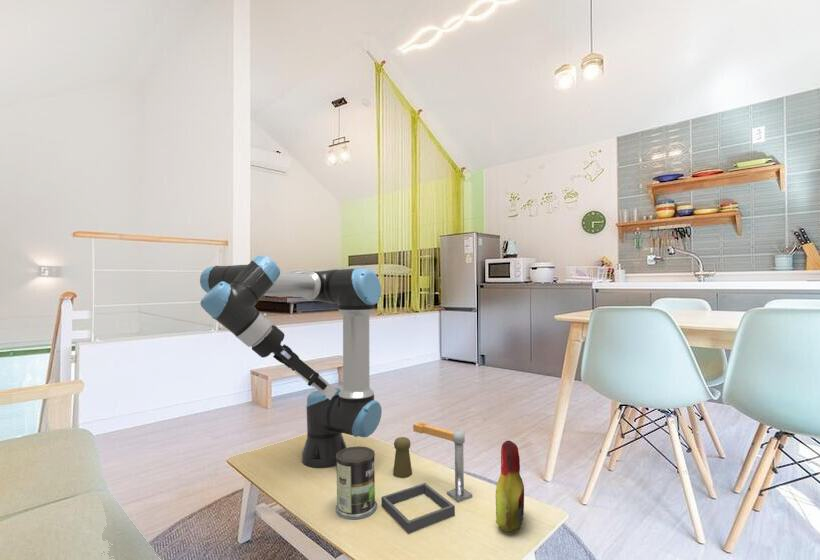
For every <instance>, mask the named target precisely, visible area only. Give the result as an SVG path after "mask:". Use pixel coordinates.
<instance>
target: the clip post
mask: <svg viewBox="0 0 820 560" xmlns="http://www.w3.org/2000/svg"><path fill="white" fill-rule="evenodd" d="M464 465H465V464H464V443H462V444H456V443H454V481H455V483H454V484H455V485H454V486H455V487H454V488H453V489H451V490H447V491H446V495H448V496H449V497H450V498H452V500H454V501H456V502H457V503H460V502H463V501H465V500H468V499H471V498H473V494H472V493H471V492H470V491H468V490H467V489H465V486H464V485H465V484H464V483H465V477H464V475H465V474H464V473H465V471H464V470H465V467H464Z"/></svg>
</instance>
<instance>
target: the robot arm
mask: <svg viewBox="0 0 820 560" xmlns="http://www.w3.org/2000/svg"><path fill="white" fill-rule="evenodd" d="M199 283H200V284H199V285H200V287H201V288H202V289H201V290H203V291H204V292H205V293H206V294H205V295H204V296H203V298H201V300H200V302H199V304H200V307H201V308H202V309H203V310H204V311H205V312H206V313H207V314H208V315H209V316H210V317H211V318H212V319H214V320H216V322H218V323H219V324H221V326H223V327H224V328H225V329H227V330H228V331H229V332H230V333H232V334H233V335H234V336H235V337H236V338H237V339H238V340H239V341H240V342H242V343H243V344H245V346H246V347H248V348H249V347H250V348H251V351H253V352H255V353H256V354H257V355H258V356H259V357H261V358H267V357H268V356H270V355H271V354H273V356H272V357H273V358H274V359H275V360H277V361H278V362H279V363H282V364H283V365H284V366H286V367H287V368H289V369H290V370H291V371H293V372H294V373H295V374H296V375H298V376H299V377H300V378H301V379H302V380H303V381H304V382H306V383H307V385H308V386H309V387H312V388H316V390H315V391H313V392H311V393H309V394H308V395H307V398H306V424H307V425H306V430H307V431H306V432H307V433H306V434H307V435H306V436H307V437H306V440H305V442H304V446H303V450H302V453H301V455H302V458H301V461H302V463H303V464H304V465H305V464H306V465H305V466H307V465H308V466H307V467H310V466H311V467H310V468H319V467H322V468H328V467H333V466H334V467H335V466H337V460H336V454H337V453H338V452H339V451H340V450H343V449H345V448H347V445H346V442H345V440H344V436H343V434H346V435H349V436H353V437H355V438H357V437H360V438H368V437H370V436H372V435H373V434H374V432H375V431H376V430H377V429H378V426H379V424H380V422H381V419H382V412H383V411H382V405H381V403H380V402H379V401H378V400H375V392H374V390H373V389H371V387H370V315H371V313H372V312H373V311H374V310H375V306H374V305H377V303H378V302H379V301H380V298H381V296H382V286H381V281H380V279H379V277H378V276H377V274H376V273H375V272H374V271H373V270H371V269H369V268H358V267H357V268H342V269H328V270H319V271H317V270H316V271H312V270H308V271H305V272H292V271H281V270H280V267H279V266H278V264H277V262H276V261H274V259H272V258H270V257H269V256H266V255H262V254H261V255H257V256H255V258H253V259H251V261H250V262H249V263H248V264H236V265H235V264H234V265H214V266H209V267H207V268H205V269H204V270H203V271H202V272H201V274H200V277H199ZM264 296H265V297H291V298H292V297H294V298H295V297H296V298H297V297H298V298H303V299H304V300H307V301H315V302H321V303H328V304H333V305H334V304H336V305H338V306H337V307H338V308H337V309H338V310H337V311H338V312H339V313H341V315H342V381H343V382H342V389H341V388H337V387H334V386H333V385H331V384H330V383H329V382H328V381H327V380H326V379H324V378H323V377H322V376H321V375H320V374H319V373H318V372H316V371H315V370H314V369H313V368H311V367H310V366H309V365H308V364H307V363H306V362H304V360H302V359H301V358H300V357H299V355H298V354H297V353H296V352H294V351H293V349H292V348H290V347H289V346H288V345H287V344H283V345H281V344H282V342H283V341H284V340H285V333H284V332H283V331H282V330H281V329H280V328H279V327H277V326H276V325H274V324H272V322H271V321H270V320H269V319H268V318H266V317H267V316H268V315H267V314H266V313H262V312H260V311H259V310H258V309H257V308H256V307H255V306H256V304H258V302H260V300H261V299H262V298H263V297H264ZM319 469H320V468H319Z"/></svg>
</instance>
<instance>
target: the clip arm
mask: <svg viewBox="0 0 820 560" xmlns="http://www.w3.org/2000/svg"><path fill="white" fill-rule="evenodd" d="M412 426H413V427H412V428H413V432H415V433H418V434H425V435H429V436H433V437H435V438H440V439H444V440H446V441H450V442H453V444H455V443H456V444H462V443H463V444H465V441H466V440H465V439H466V437H465V436H466V435H465V431H463V430H461V429H459V430H458V429H457V430H456V429H455V430H454V431H452V430H449V429H445V428H443V427H442V428H441V427H437V426H434V425H431V424H429V423H426V422H422V421H418V422H416V423H413V425H412Z"/></svg>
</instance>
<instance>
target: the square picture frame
mask: <svg viewBox="0 0 820 560" xmlns="http://www.w3.org/2000/svg"><path fill="white" fill-rule="evenodd" d="M422 495H425V496H427V497H428V498H429V499H430V500H431V501H433V502H434V503H435V504H436V505H437V506H439V507H440V509H436V510H434V511H431V512H429V513H428V512H427V513H426V514H423V515H421V516H417V517H415V518H412V519H410V520H409V519H408V517H406V516H405V515H404V514H403V513H402V511H400V510H399V509H398V508H397V506H395V505H394V504H398V503H401V502H404V501H406V500H411V499H413V498H416V497H419V496H422ZM381 507H382V508H383V509H384V511H386V512H387V514H389V515H390V517H391V518H393V520H394V521H395V522H396V523H397V524H398V525H399V526H400V527H401V528H402V529H403V530H404V531H405V532H406V534H408V535H409V534H410V533H413V532H416V531H420V530H421V529H424V528H426V527H429V526H432V525H435V524H437V523H440V522H442V521H444V520H447V519H450V518H452V517H455V516H456V512H455V511H456V508H455V507H456V506H455V504H453V503H452V502H451V501H449V500H448V499H446V498H445V497H444V496H443V495H441V493H439V492H438V491H436V490H435V489H434V488H432V487H431V486H430V485H429V484H427V483H426V482H424V483H420V484H418V485H417V484H416V485H413V486H412V487H411V486H410V487H408V488H405V489H401V490H398V491H395V492H392V493H390V494H386V495H383V496H381Z"/></svg>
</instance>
